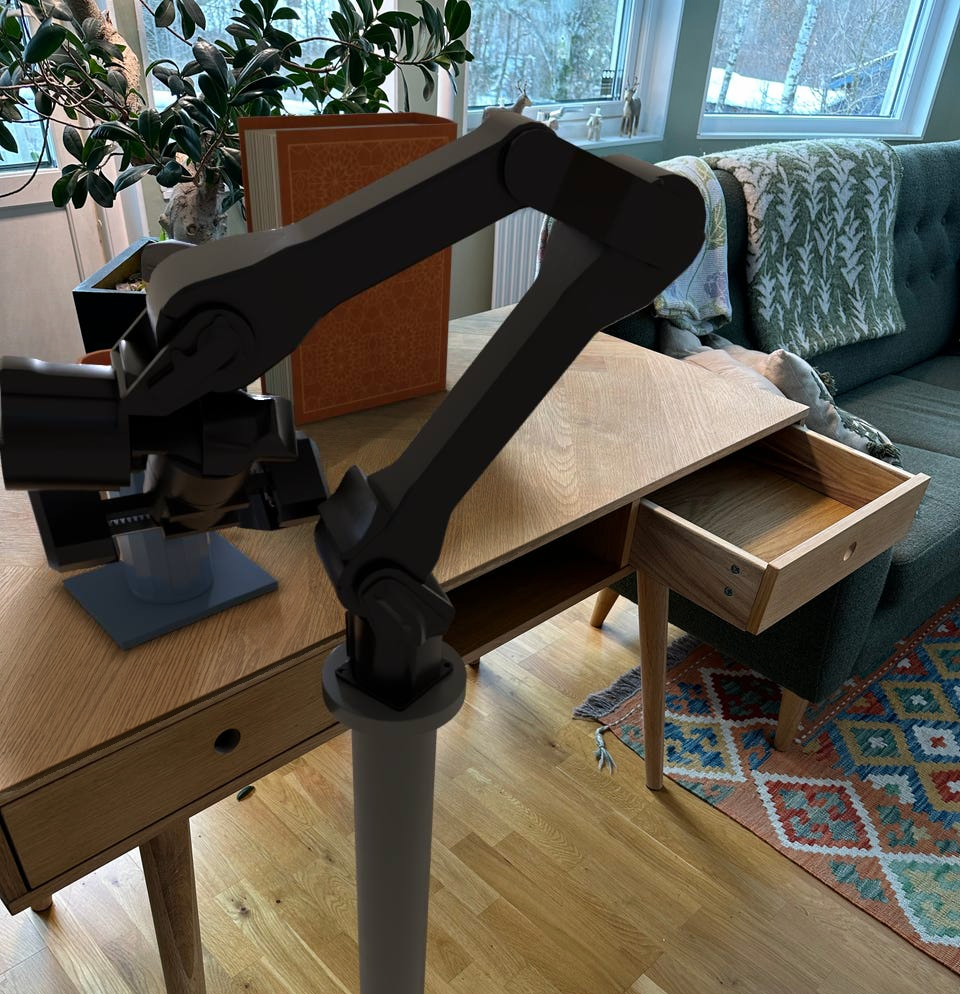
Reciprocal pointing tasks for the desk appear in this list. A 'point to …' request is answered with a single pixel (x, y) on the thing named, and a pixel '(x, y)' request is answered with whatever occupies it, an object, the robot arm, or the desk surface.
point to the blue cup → (163, 560)
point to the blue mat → (145, 621)
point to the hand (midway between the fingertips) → (177, 532)
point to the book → (377, 311)
